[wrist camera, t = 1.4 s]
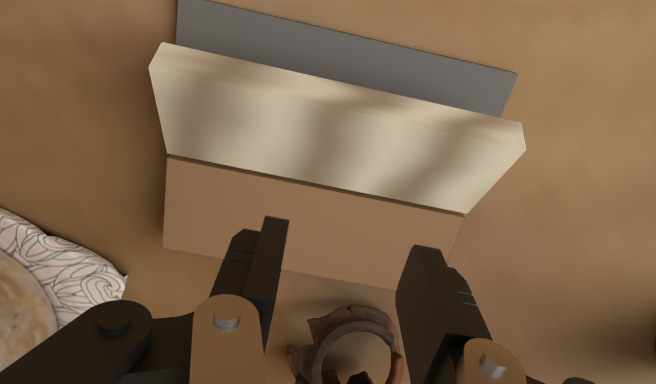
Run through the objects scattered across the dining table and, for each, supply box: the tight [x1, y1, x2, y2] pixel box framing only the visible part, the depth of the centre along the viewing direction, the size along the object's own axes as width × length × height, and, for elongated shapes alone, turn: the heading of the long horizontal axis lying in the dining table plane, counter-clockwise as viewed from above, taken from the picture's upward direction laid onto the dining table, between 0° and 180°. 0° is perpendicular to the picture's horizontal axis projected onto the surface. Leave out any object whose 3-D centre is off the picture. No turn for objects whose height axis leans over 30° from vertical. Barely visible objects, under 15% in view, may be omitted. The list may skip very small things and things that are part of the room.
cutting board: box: [162, 0, 518, 290], centre depth 28 cm, size 21×17×3 cm
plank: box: [148, 42, 526, 214], centre depth 25 cm, size 20×7×2 cm, turn 78°
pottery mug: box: [286, 305, 403, 384], centre depth 35 cm, size 12×10×8 cm
